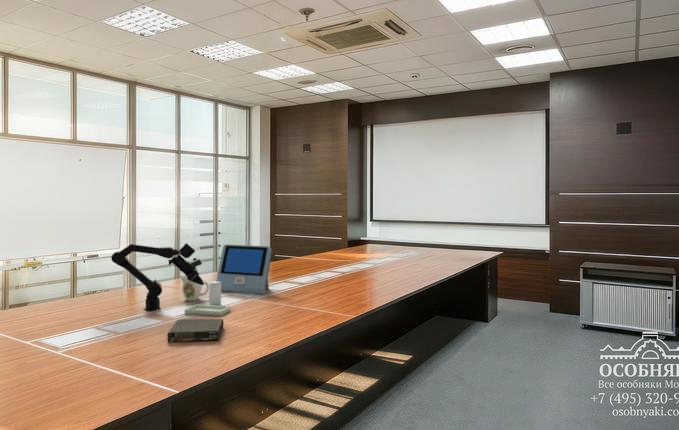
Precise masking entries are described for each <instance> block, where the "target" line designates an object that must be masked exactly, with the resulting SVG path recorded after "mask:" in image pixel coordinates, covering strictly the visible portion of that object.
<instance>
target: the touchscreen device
mask: <svg viewBox="0 0 679 430" xmlns="http://www.w3.org/2000/svg"><path fill="white" fill-rule="evenodd" d="M272 255H273V249H272V247H270V246H265V245H246V244H244V245H242V244H224V245H223V247H222V251H221V255H220V256H221V257H220V259H219V265H218V270H217V275H216V280H215V281H218V282H221V292H225V293H226V292H227V293H240V294H253V295H265V294H266V291H267V290H269V289H270V286H269V279H268V278H269V274H270V273H269V272H270V267H271V260H272Z"/></svg>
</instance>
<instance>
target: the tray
mask: <svg viewBox="0 0 679 430" xmlns="http://www.w3.org/2000/svg"><path fill="white" fill-rule="evenodd" d="M230 311H231V305H220V306H216V305H209V304H198V303H197V304H194V305H191V306H190V307H187V308H185V309H184V315H186V316H188V315H190V316H191V315H193V316H206V317H207V316H208V317H223V316H224V315H225V314H227V313H229V312H230Z"/></svg>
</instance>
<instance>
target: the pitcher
mask: <svg viewBox="0 0 679 430" xmlns="http://www.w3.org/2000/svg"><path fill="white" fill-rule="evenodd" d="M178 278H179V279H181V281H182V295H183V298H184V300H186V301H189V302H191V301H192V302H193V301H194V302H195V301H197V300H199V298H200V297H203V296H205V295H207V294H208V293H209V283H208V281H205V280H203V283H204V285H205V286H206V290H205V291H204V292H202V286H203V285H200V284H197V283H194V282H191V281H189V280H188V279H187V276H186V275H179V276H178ZM200 278H201V279H202V277H201V276H200Z"/></svg>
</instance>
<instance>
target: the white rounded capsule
mask: <svg viewBox="0 0 679 430" xmlns="http://www.w3.org/2000/svg"><path fill="white" fill-rule="evenodd" d="M208 285H209V290H208V293H209V294H208V295H209V296H208V297H209V298H208V299H209V301H208V303H209V304H208V305H216V306H222V291H221V282H218V281H216V280H215V281H210V282H209V283H208Z"/></svg>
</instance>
